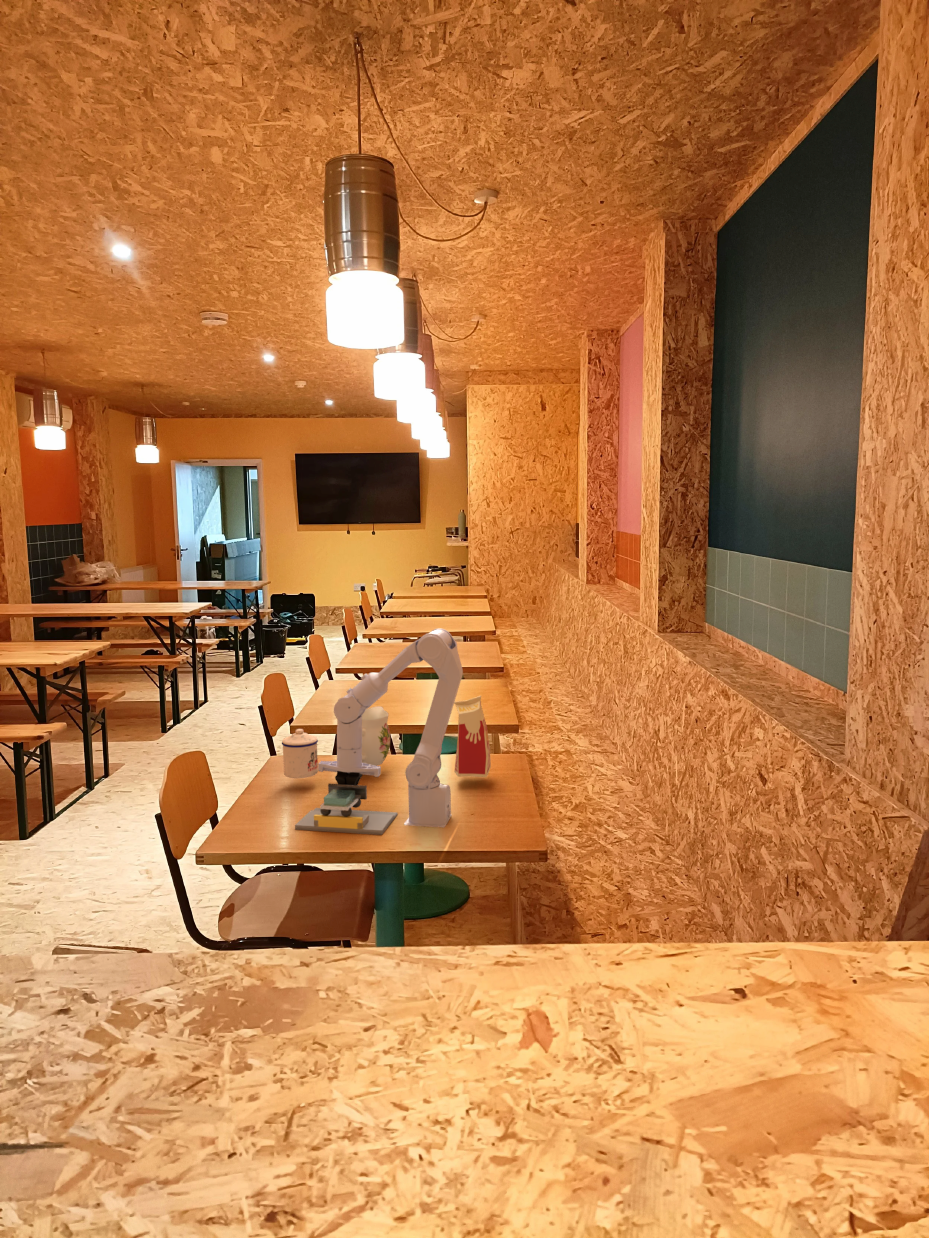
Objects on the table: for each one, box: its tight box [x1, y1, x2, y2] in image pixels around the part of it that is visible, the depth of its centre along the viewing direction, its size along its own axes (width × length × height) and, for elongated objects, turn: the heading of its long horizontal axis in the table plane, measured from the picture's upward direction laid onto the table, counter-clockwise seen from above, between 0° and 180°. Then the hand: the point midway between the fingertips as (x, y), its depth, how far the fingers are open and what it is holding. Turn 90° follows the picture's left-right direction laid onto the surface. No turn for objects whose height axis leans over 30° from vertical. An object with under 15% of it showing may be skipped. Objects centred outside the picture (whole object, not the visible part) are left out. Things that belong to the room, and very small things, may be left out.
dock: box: [294, 807, 398, 836], centre depth 181 cm, size 20×12×3 cm, turn 79°
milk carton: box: [454, 695, 492, 778], centre depth 205 cm, size 9×9×20 cm
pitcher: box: [362, 705, 391, 766], centre depth 213 cm, size 11×18×14 cm, turn 166°
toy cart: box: [319, 782, 368, 817], centre depth 178 cm, size 9×9×5 cm
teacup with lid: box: [281, 728, 319, 779], centre depth 207 cm, size 12×9×12 cm
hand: (349, 803), depth 185 cm, fingers closed, pressing on toy cart
